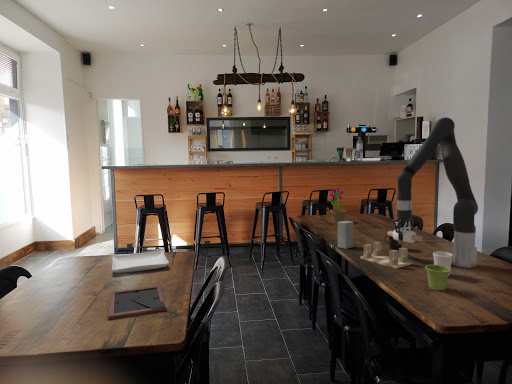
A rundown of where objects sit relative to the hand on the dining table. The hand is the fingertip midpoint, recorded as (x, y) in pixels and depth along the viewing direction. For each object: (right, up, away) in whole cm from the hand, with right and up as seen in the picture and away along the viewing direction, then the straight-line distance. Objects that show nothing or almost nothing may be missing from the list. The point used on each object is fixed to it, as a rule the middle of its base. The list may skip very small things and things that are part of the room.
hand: (404, 239), depth 192 cm
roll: (0, -1, 0) cm, 1 cm away
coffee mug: (+2, -9, +22) cm, 24 cm away
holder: (-12, -11, -4) cm, 17 cm away
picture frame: (-126, -18, -52) cm, 138 cm away
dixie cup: (+7, -13, -26) cm, 30 cm away
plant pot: (-4, -15, -43) cm, 45 cm away
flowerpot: (-10, 0, +110) cm, 111 cm away
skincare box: (-25, -8, +28) cm, 38 cm away
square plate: (-141, -14, -3) cm, 142 cm away
